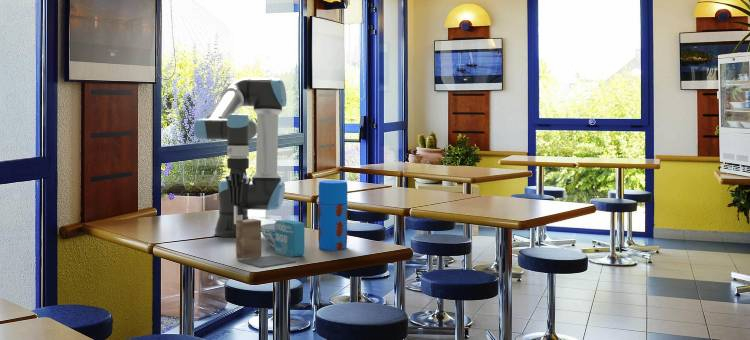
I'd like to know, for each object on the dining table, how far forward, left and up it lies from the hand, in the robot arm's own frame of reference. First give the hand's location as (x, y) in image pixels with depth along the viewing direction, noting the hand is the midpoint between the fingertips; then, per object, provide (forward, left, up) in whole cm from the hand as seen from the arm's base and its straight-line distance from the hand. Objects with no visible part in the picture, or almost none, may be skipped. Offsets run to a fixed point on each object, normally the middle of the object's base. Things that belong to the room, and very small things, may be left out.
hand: (238, 223), depth 273 cm
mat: (+17, 0, -11) cm, 21 cm away
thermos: (+11, +34, -11) cm, 38 cm away
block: (+6, 0, -11) cm, 13 cm away
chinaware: (-4, +21, -11) cm, 25 cm away
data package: (+11, +14, -11) cm, 21 cm away
